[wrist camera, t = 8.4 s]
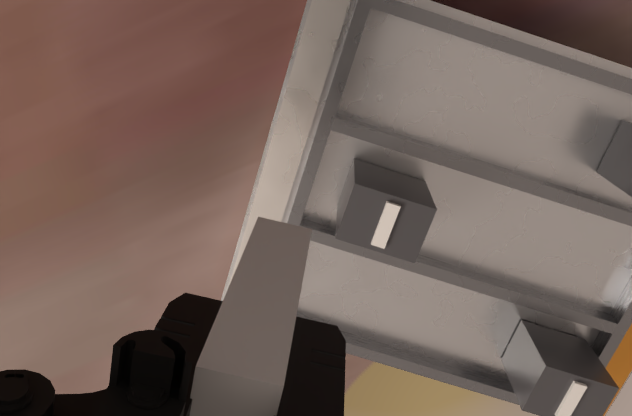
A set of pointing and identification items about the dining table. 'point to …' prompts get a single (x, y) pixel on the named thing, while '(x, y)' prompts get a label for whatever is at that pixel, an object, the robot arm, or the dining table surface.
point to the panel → (454, 187)
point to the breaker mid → (384, 211)
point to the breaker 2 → (619, 159)
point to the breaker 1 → (556, 373)
